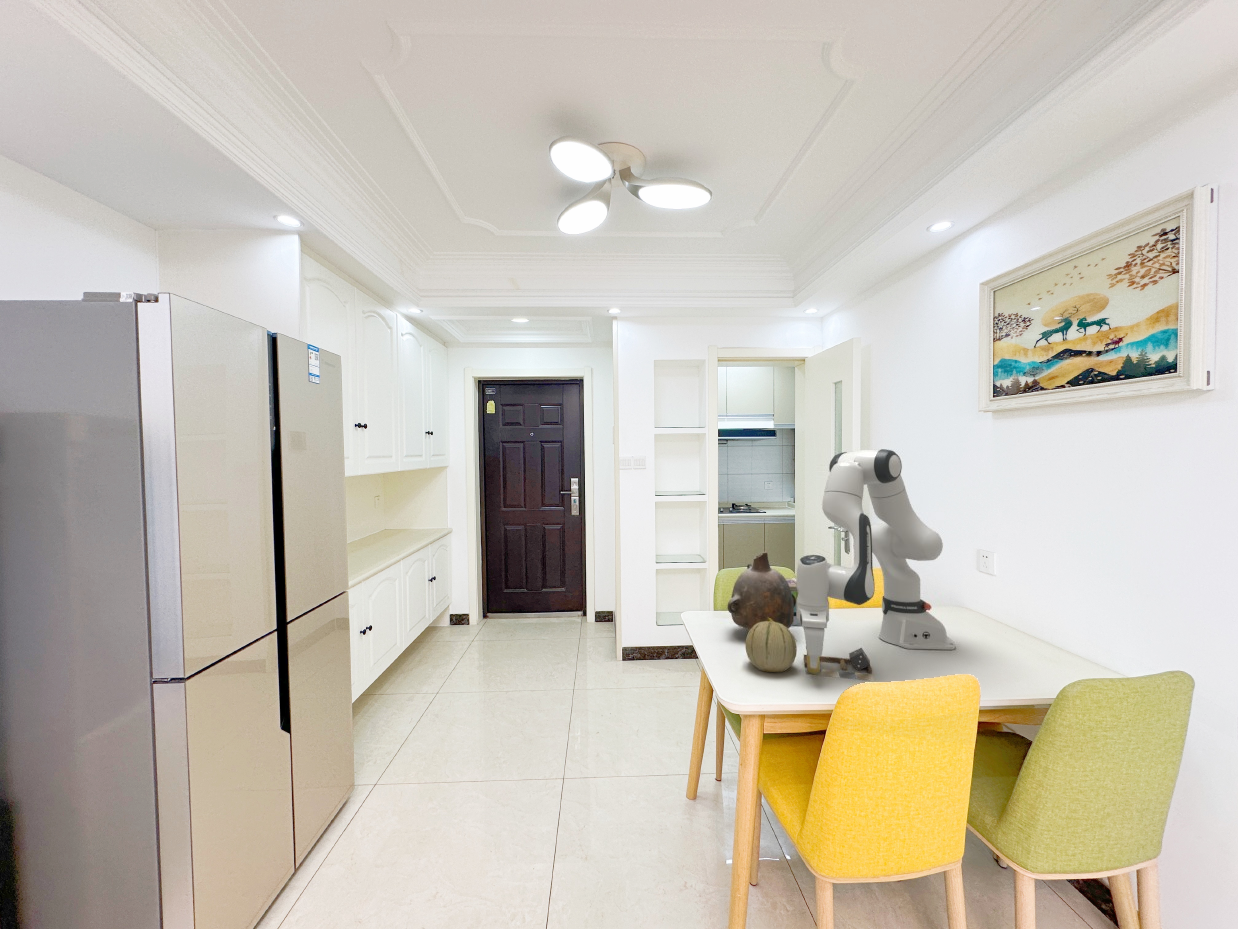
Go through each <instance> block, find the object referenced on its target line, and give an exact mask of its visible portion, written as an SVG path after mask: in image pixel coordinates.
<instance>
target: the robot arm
mask: <svg viewBox="0 0 1238 929" xmlns="http://www.w3.org/2000/svg"><path fill="white" fill-rule="evenodd" d="M828 467H829V468H828V469H829V470H828V472H829V475H828V477H827V479H826V484H825V487H824V492H823V497H822V501H821V502H822V503H821V506H822V507H821V508H822V513H823V514H824V516H825V517H826V518H827V519H828V520H829V522H831V523H833V524H835V525H837V526H838V527H841V529H844V530H845V531H847V532H849V533H850V534H851V536H852V539H853V540H852V541H853V565H852V566H850V567H848V566H843V565H838V564H837V565H836V564H832V563H830V562H828V561H827V558H826V557H824V556H823V555H818V554H810V555H809V554H808V555H804V556H802V557H800V559H799V561H798V564H797V568H796V578H797V580H796V587H797V590H798V597H797V600H796V617H797V619H799V621H800V622H801V624H802V625H801V627H802V628H803V632H804V639H805V649H806V648H807V650H806V655H807V654H808V655H809V656H810V667H811V668H817V660H818V657H821V656H823V650H824V640H825V638H824V637H825V629H827V627H828V622H829V621H830V601H829V598H830V599H836V600H840V601H845V602H847V603H850V604H853V605H857V606H862V605H864V604H866V603H867V602H869V601H870V600H872V598H873V597H874V595H875V591H876V590H875V577H874V572H873V571H874V570H873V555H874V556H875V558H876V559H877V561H878V564H879V567H880V569H881V572H882V577H883V578H882V580H883V581H882V582H883V596H882V598H881V599H882V600H881V611H882V613H883V614H882V620H881V625H880V626H881V627H880V630H879V632H878V633H879V634H878V638H879V639H881V640H882V641H884V642H886V643H889V644H893V645H896V646H899V647H902V648H904V649H907V650H908V649H911V650H912V649H913V650H947V651H948V650H950V651H951V650H955V649H956V642H955V641H954V640H953V639H952V638H951V637H949V636H948V634H947V630H946V627H945V625H944V624H943V623H942V622H941V621H940V620H939V619H938V618H936V617H935V616H934V615H933V614H931V613H930V612H929V611H931V610H932V605H931V604H930V603H929V602H926V601H925V600H923V599H921V578H920V576H919V574H918V573H917V572H916V570H914V569H912V567H911V566H910V565H909V564H908V562H907V560H911V561H917V562H919V561H920V562H921V561H922V562H924V561H926V562H927V561H929V562H930V561H935V560H936V559H938V558H939V556H940V555H941V554H942V552H943V546H944V543H943V539H942V538H941V535H939V532H936V531H934V530H933V529H932V528H930V527H929V526H928V525H926V523H924V522H923V520H921V518H920V517H919V516H918V515H917V513H916V512H915V510H914V508H913V507H912V504H911V501H910V499H909V496H908V493H907V490H906V486H905V483H904V480H903V477H902V475H901V474H902V468H903V466H902V461H901V458H900V456H899V455H898V454H897V453H896V452H895V451H894V450H892V449H861V450H855V451H849V452H847V451H844V452H839V453H836V454H835V455H834V456H833V457H832V458H831V460H830V462H829V466H828ZM865 485H866V488H867V492H868V495H869V498H870V499H869V500H870V501H871V505H872V509H873V512H874V515H875V516H876V517H877V518H878V519H879V520H881V521H882V522H884V523H877V524H875V523H874V524H871V520H870V518H869V516H868V515H867V514H865V513H864V510H863V498H864V489H865V488H864V487H865Z"/></svg>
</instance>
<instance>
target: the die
mask: <svg viewBox="0 0 1238 929" xmlns="http://www.w3.org/2000/svg"><path fill="white" fill-rule="evenodd" d="M848 655H849V656H848V657H849V658H848V659H850V660H851V661H852V663H853V664H852V665H853V666H854V668H855V669H856V671H861V670H862V669H865V668H866V667H867V666H869V665H870V666H871V659H870V658H869V657H868V655H867V653H866V652H865V651H864V650H863V648H862V647H860V648H858V649H856V650H853V651H851V652H849V653H848Z"/></svg>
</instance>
